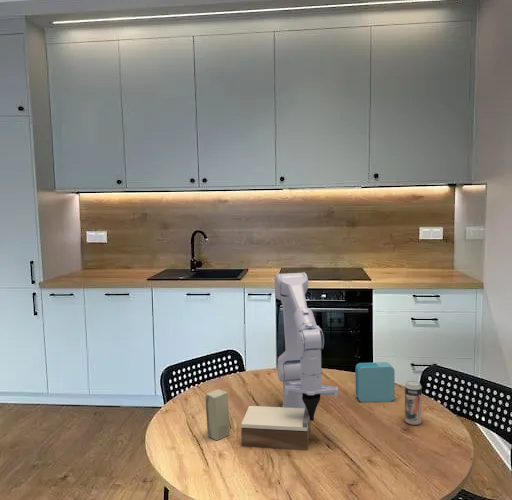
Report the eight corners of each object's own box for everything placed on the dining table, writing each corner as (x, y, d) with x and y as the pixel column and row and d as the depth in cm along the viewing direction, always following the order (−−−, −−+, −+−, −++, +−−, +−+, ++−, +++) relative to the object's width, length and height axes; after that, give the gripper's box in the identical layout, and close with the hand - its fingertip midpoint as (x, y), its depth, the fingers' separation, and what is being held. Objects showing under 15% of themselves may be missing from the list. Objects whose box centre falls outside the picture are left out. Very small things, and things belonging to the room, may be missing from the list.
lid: (249, 409, 144) (249, 401, 143) (309, 411, 141) (309, 404, 140) (241, 427, 132) (241, 419, 132) (307, 431, 129) (307, 423, 129)
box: (220, 430, 142) (218, 388, 141) (230, 435, 139) (228, 391, 138) (206, 436, 138) (204, 393, 137) (216, 441, 135) (214, 397, 134)
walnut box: (250, 426, 144) (249, 410, 144) (310, 429, 141) (310, 412, 141) (242, 446, 132) (241, 428, 132) (307, 450, 129) (307, 432, 129)
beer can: (401, 422, 144) (401, 383, 142) (409, 417, 147) (409, 379, 146) (417, 427, 140) (417, 387, 139) (424, 421, 144) (424, 382, 143)
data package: (390, 396, 163) (390, 361, 162) (394, 401, 159) (394, 366, 158) (355, 397, 163) (355, 362, 162) (358, 402, 159) (358, 367, 158)
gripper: (283, 376, 130) (284, 424, 132) (337, 378, 128) (338, 427, 129) (286, 367, 137) (287, 413, 139) (337, 368, 135) (338, 415, 136)
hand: (311, 419), depth 134 cm, fingers closed
